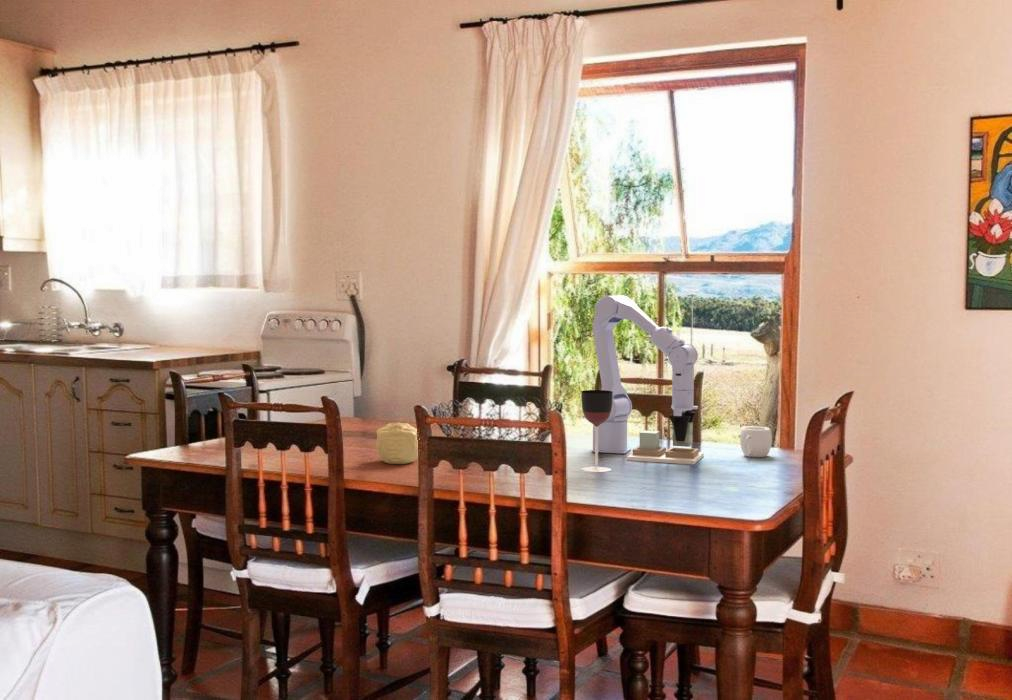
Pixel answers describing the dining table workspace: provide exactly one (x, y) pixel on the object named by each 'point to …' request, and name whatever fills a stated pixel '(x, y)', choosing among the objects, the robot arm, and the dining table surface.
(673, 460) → the puzzle board
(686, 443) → the green block
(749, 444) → the mug
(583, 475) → the dining table surface
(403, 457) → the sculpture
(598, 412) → the wineglass
